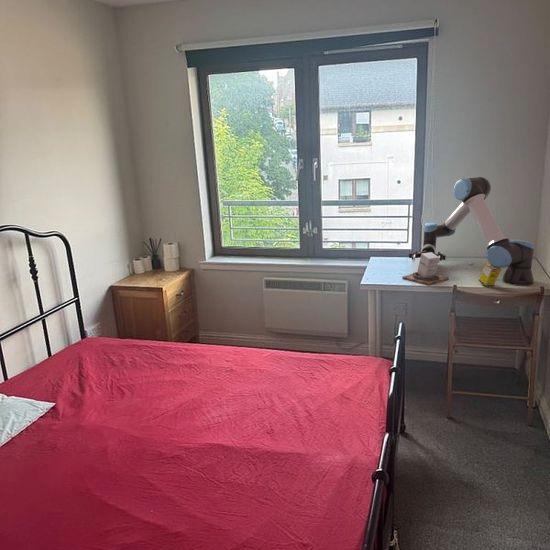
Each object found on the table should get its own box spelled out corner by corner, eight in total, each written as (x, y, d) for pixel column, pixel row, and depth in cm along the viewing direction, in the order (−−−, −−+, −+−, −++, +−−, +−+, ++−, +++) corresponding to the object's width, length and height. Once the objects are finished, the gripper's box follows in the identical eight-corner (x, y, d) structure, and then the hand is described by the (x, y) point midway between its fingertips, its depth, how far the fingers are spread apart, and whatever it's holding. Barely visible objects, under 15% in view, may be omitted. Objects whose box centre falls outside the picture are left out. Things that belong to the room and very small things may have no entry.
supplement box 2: (493, 286, 265) (501, 269, 259) (484, 286, 263) (492, 269, 257) (486, 280, 269) (494, 263, 264) (477, 280, 268) (485, 263, 262)
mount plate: (448, 279, 278) (449, 274, 277) (428, 285, 268) (429, 280, 267) (422, 273, 292) (422, 268, 291) (402, 278, 282) (402, 274, 281)
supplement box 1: (416, 273, 282) (420, 253, 276) (427, 271, 284) (431, 251, 279) (424, 279, 276) (429, 258, 270) (435, 277, 278) (440, 257, 273)
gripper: (449, 259, 295) (448, 267, 276) (406, 256, 303) (403, 264, 284) (450, 246, 293) (449, 254, 274) (407, 244, 301) (403, 252, 282)
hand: (426, 259), depth 279 cm, fingers open, 13 cm apart
